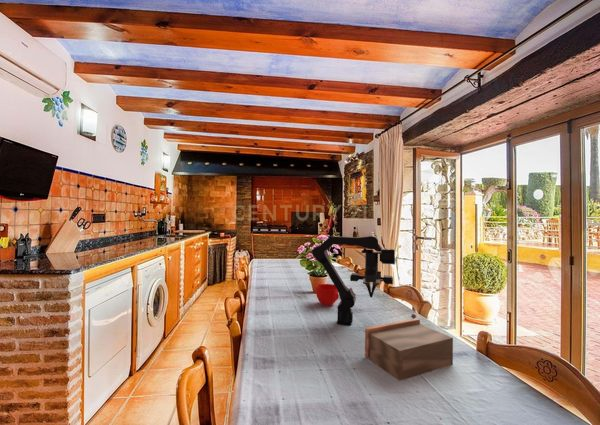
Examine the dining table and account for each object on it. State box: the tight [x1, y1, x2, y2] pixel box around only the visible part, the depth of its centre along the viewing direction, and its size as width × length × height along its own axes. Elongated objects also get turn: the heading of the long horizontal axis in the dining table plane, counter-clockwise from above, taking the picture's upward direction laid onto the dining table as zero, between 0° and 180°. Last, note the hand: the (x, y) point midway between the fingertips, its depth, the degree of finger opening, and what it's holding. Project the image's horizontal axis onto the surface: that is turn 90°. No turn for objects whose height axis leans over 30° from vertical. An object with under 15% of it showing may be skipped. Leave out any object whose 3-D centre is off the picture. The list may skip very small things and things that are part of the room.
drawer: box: [364, 317, 421, 359], centre depth 100 cm, size 14×25×10 cm, turn 115°
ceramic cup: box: [315, 283, 340, 307], centre depth 161 cm, size 13×17×10 cm
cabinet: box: [369, 323, 454, 381], centre depth 98 cm, size 14×24×9 cm, turn 115°
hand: (371, 297), depth 131 cm, fingers closed
